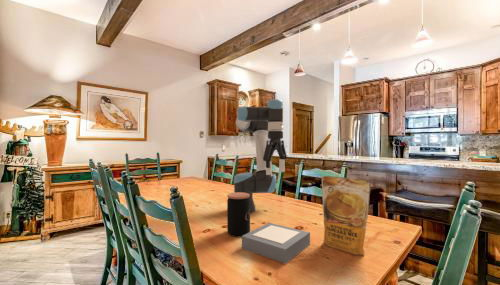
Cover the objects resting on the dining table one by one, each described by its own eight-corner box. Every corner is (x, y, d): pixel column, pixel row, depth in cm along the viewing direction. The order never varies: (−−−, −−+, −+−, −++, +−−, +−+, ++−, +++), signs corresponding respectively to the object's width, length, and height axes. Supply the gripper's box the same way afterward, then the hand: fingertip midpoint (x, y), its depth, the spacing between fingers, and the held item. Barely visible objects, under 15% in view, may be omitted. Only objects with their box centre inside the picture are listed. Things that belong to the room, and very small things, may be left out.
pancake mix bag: (325, 239, 104) (324, 174, 104) (372, 253, 90) (371, 179, 90) (317, 243, 99) (317, 176, 99) (365, 259, 85) (365, 181, 86)
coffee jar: (249, 237, 106) (249, 197, 106) (226, 237, 106) (225, 197, 106) (250, 228, 117) (250, 192, 117) (228, 228, 117) (228, 192, 117)
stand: (241, 248, 95) (241, 235, 95) (269, 233, 110) (269, 222, 110) (285, 263, 82) (285, 248, 82) (310, 244, 98) (309, 231, 98)
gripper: (269, 129, 107) (269, 176, 106) (292, 131, 127) (293, 171, 127) (255, 130, 111) (255, 175, 111) (280, 131, 131) (280, 170, 131)
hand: (275, 173), depth 119 cm, fingers open, 13 cm apart
